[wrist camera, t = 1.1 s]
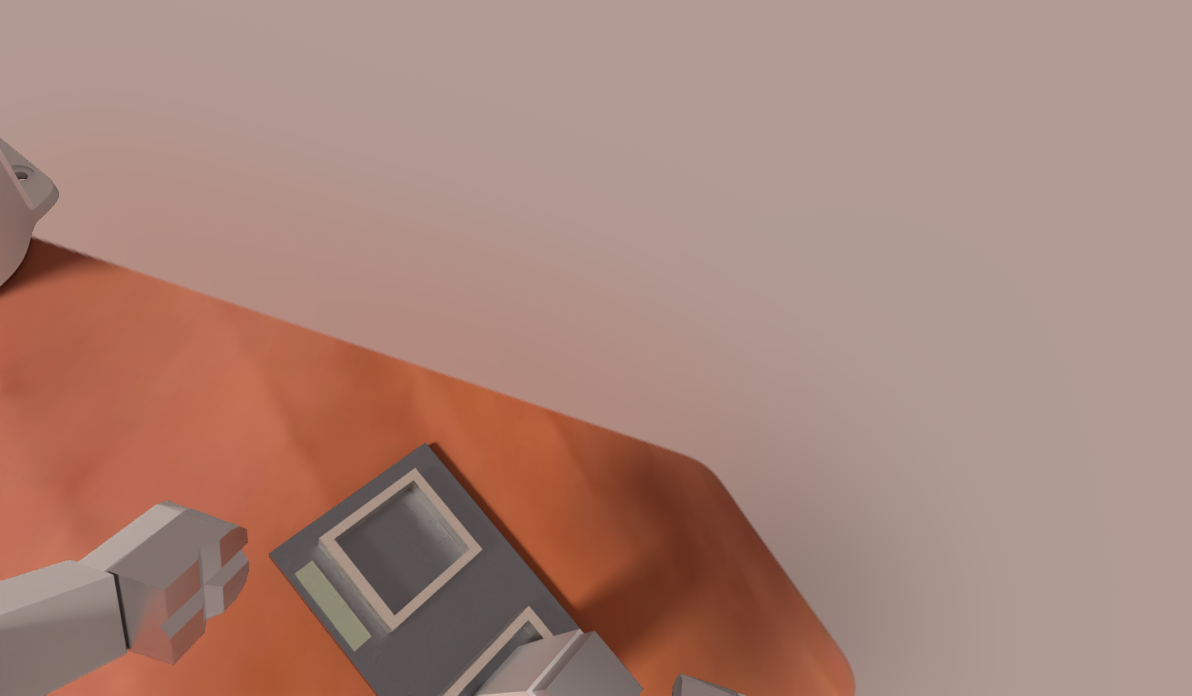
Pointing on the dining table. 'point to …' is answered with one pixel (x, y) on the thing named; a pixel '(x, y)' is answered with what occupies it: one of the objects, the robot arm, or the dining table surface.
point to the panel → (418, 583)
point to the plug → (562, 669)
